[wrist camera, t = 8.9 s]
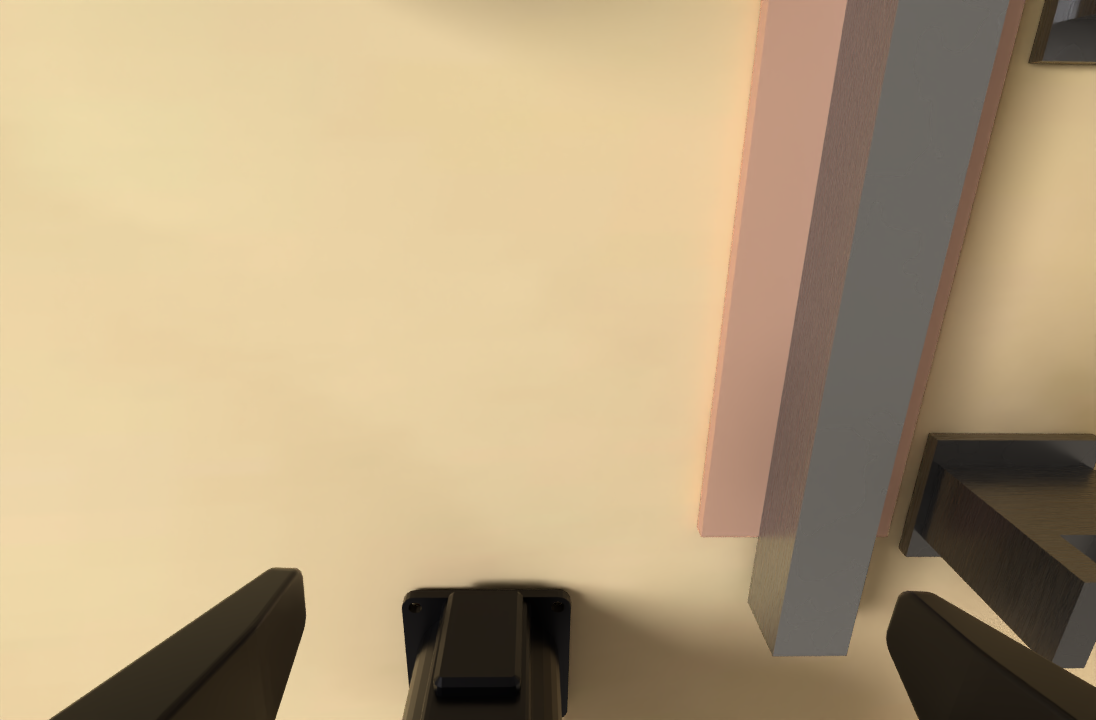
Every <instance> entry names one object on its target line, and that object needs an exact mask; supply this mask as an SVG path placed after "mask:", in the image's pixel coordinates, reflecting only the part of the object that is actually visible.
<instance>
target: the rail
mask: <svg viewBox="0 0 1096 720" xmlns="http://www.w3.org/2000/svg"><path fill="white" fill-rule="evenodd" d="M1008 4H1009V0H847V5H846V11H845V17H844V23H843V29H842V35H841V41H840V47H839V53H838V59H837V65H836V71H835V77H834V83H833V89H832V95H831V101H830V108H829V114H828V120H827V126H826V132H825V138H824V144H823V150H822V156H821V162H820V168H819V174H818V180H817V186H816V192H815V198H814V204H813V210H812V216H811V222H810V228H809V234H808V240H807V246H806V252H805V258H804V265H803V271H802V277H801V283H800V289H799V295H798V301H797V307H796V313H795V319H794V325H793V331H792V337H791V343H790V349H789V355H788V361H787V367H786V373H785V379H784V385H783V391H782V397H781V403H780V409H779V415H778V422H777V428H776V434H775V440H774V446H773V452H772V458H771V464H770V470H769V476H768V482H767V488H766V494H765V500H764V506H763V512H762V518H761V524H760V530H759V536H758V542H757V548H756V554H755V560H754V566H753V572H752V578H751V585H750V591H749V597H748V604H749V606H750V608H751V610H752V612H753V614H754V617H755V619H756V621H757V623H758V625H759V627H760V630H761V632H762V634H763V636H764V638H765V641H766V643H767V645H768V647H769V649H770V651H771V654H772V656H846V655H847V651H848V647H849V643H850V639H851V635H852V631H853V627H854V623H855V619H856V615H857V611H858V607H859V603H860V599H861V595H862V591H863V587H864V583H865V579H866V575H867V571H868V567H869V563H870V559H871V555H872V551H873V547H874V543H875V539H876V535H877V531H878V527H879V523H880V519H881V515H882V511H883V507H884V503H885V499H886V495H887V490H888V486H889V482H890V478H891V474H892V470H893V466H894V462H895V458H896V454H897V450H898V446H899V442H900V438H901V434H902V430H903V426H904V422H905V418H906V414H907V410H908V406H909V402H910V398H911V394H912V390H913V386H914V382H915V378H916V374H917V370H918V366H919V362H920V358H921V354H922V350H923V346H924V342H925V338H926V334H927V330H928V326H929V322H930V318H931V314H932V310H933V306H934V302H935V298H936V294H937V290H938V286H939V282H940V278H941V274H942V270H943V266H944V262H945V257H946V253H947V249H948V245H949V241H950V237H951V233H952V229H953V225H954V221H955V217H956V213H957V209H958V205H959V201H960V197H961V193H962V189H963V185H964V181H965V177H966V173H967V169H968V165H969V161H970V157H971V153H972V149H973V145H974V141H975V137H976V133H977V129H978V125H979V121H980V117H981V113H982V109H983V105H984V101H985V97H986V93H987V89H988V85H989V81H990V77H991V73H992V69H993V65H994V61H995V57H996V53H997V49H998V45H999V41H1000V37H1001V33H1002V28H1003V24H1004V20H1005V16H1006V12H1007V8H1008Z"/></svg>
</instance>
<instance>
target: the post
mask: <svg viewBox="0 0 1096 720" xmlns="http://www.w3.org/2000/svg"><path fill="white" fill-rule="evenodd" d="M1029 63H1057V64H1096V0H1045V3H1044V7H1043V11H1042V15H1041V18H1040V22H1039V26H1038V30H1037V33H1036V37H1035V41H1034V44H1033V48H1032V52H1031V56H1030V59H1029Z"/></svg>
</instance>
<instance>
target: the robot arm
mask: <svg viewBox="0 0 1096 720" xmlns="http://www.w3.org/2000/svg"><path fill="white" fill-rule="evenodd" d="M555 602H561V603H562V604H559V605H555V604H554V603H555ZM412 603H418V604H420V605H418V606H416V605H413V604H412ZM402 614H403V625H404V636H405V647H406V658H407V669H408V680H409V692H408V696H407V701H406V705H405V709H404V714H403V718H402V720H562V717H564V716H565V715H566V713H567V700H568V672H569V644H570V615H571V604H570V596H569V595H568V593H567V592H565V591H563V590H414V591H410V592H409V593H407V594H406V596H405V597H404V601H403V605H402ZM305 620H306V608H305V597H304V585H303V576H302V573H301V571H300V570H298V569H297V568H271V569H269V570H267V571H265V572H264V573H262V574H261V575H259V576H258V577H257V578H255V579H254V580H252V581H251V582H249V583H248V584H246V585H245V586H243V587H242V588H240V589H239V590H238V591H236V592H235V593H233V594H232V595H230V596H229V597H227V598H226V599H224V600H223V601H221V602H220V603H219V604H217V605H216V606H214V607H213V608H211V609H210V610H208V611H207V612H205V613H204V614H202V615H201V616H200V617H198V618H197V619H195V620H194V621H192V622H191V623H189V624H188V625H186V626H185V627H183V628H182V629H181V630H179V631H178V632H176V633H175V634H173V635H172V636H170V637H169V638H167V639H166V640H164V641H163V642H162V643H160V644H159V645H157V646H156V647H154V648H153V649H151V650H150V651H148V652H147V653H146V654H144V655H143V656H141V657H140V658H138V659H137V660H135V661H134V662H132V663H131V664H129V665H128V666H127V667H125V668H124V669H122V670H121V671H119V672H118V673H116V674H115V675H113V676H112V677H110V678H109V679H108V680H106V681H105V682H103V683H102V684H100V685H99V686H97V687H96V688H94V689H93V690H91V691H90V692H89V693H87V694H86V695H84V696H83V697H81V698H80V699H78V700H77V701H75V702H74V703H72V704H71V705H70V706H68V707H67V708H65V709H64V710H62V711H61V712H59V713H58V714H56V715H55V716H53V717H52V718H51V719H49V720H275V718H276V715H277V712H278V709H279V706H280V703H281V700H282V697H283V693H284V690H285V687H286V684H287V681H288V678H289V675H290V672H291V668H292V665H293V662H294V659H295V656H296V653H297V650H298V647H299V643H300V640H301V637H302V634H303V631H304V627H305ZM886 640H887V646H888V650H889V652H890V655H891V657H892V659H893V662H894V664H895V666H896V668H897V671H898V673H899V675H900V678H901V680H902V682H903V684H904V687H905V689H906V691H907V694H908V696H909V698H910V700H911V703H912V705H913V707H914V710H915V712H916V714H917V716H918V719H919V720H1096V687H1094V686H1092V685H1091V684H1089V683H1087V682H1086V681H1084V680H1082V679H1080V678H1079V677H1077V676H1075V675H1073V674H1072V673H1070V672H1068V671H1067V670H1065V669H1063V668H1061V667H1060V666H1058V665H1056V664H1055V663H1053V662H1051V661H1049V660H1048V659H1046V658H1044V657H1042V656H1041V655H1039V654H1037V653H1036V652H1034V651H1032V650H1030V649H1029V648H1027V647H1025V646H1023V645H1022V644H1020V643H1018V642H1017V641H1015V640H1013V639H1011V638H1010V637H1008V636H1006V635H1004V634H1003V633H1001V632H999V631H998V630H996V629H994V628H992V627H991V626H989V625H987V624H985V623H984V622H982V621H980V620H979V619H977V618H975V617H973V616H972V615H970V614H968V613H966V612H965V611H963V610H961V609H960V608H958V607H956V606H954V605H953V604H951V603H949V602H947V601H946V600H944V599H942V598H941V597H939V596H937V595H935V594H933V593H930V592H921V591H905V592H903V593H901V594H900V595H899V597H898V599H897V602H896V605H895V608H894V611H893V614H892V617H891V620H890V623H889V627H888V630H887V635H886Z"/></svg>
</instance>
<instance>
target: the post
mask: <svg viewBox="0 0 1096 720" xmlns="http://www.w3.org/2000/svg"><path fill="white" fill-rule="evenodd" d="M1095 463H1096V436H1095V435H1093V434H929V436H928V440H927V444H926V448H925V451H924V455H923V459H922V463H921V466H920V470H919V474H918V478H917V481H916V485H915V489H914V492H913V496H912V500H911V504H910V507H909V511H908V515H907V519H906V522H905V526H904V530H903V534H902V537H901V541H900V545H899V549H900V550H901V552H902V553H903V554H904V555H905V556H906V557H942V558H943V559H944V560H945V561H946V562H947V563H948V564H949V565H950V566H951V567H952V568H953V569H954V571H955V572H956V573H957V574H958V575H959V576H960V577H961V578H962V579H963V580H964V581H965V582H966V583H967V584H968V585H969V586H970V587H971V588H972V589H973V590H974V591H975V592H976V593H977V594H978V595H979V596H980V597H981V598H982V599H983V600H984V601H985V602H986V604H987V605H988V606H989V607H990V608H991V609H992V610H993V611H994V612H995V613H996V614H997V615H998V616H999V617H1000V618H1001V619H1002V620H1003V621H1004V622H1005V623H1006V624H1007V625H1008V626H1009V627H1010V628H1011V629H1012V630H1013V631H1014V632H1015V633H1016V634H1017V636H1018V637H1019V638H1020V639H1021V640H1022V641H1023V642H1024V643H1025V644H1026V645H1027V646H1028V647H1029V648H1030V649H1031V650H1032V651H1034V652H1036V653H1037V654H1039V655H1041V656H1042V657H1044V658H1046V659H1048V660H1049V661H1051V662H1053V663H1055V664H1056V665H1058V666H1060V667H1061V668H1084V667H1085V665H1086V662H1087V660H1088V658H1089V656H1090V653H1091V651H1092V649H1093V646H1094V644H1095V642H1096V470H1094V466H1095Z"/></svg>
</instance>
